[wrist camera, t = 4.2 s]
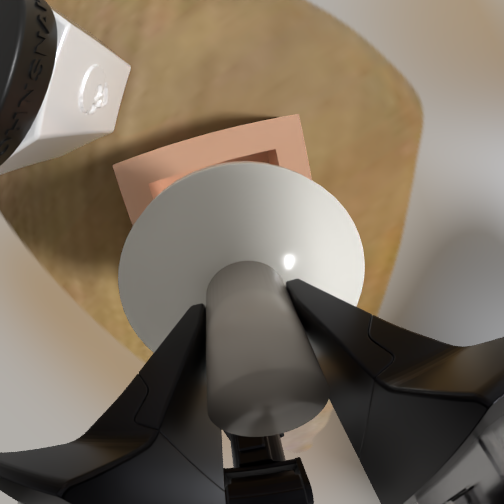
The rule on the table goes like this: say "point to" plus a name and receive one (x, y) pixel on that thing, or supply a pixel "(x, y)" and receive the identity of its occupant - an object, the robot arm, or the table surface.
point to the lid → (243, 284)
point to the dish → (211, 157)
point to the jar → (53, 84)
